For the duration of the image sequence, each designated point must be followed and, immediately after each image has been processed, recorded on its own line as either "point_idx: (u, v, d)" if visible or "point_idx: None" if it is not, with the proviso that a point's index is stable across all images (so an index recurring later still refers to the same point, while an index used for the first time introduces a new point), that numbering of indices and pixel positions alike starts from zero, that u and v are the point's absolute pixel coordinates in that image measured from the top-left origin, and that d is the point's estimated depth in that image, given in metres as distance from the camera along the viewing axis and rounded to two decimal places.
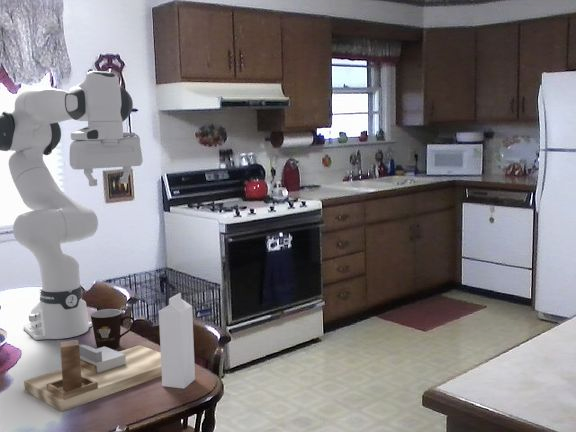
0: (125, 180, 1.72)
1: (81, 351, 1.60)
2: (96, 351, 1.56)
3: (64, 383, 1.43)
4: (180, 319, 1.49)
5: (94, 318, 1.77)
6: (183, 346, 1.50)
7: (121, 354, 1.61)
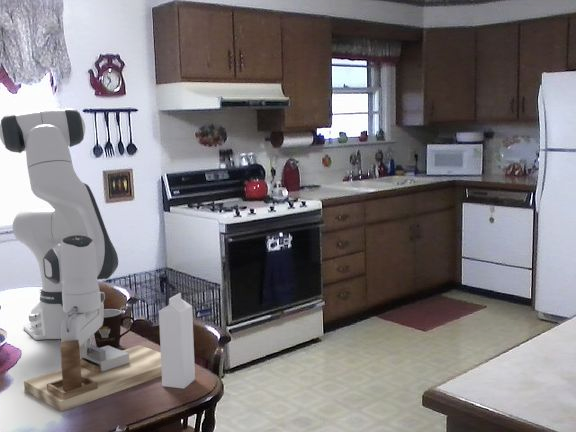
0: None
1: None
2: (100, 349, 1.57)
3: (64, 383, 1.43)
4: (180, 319, 1.49)
5: None
6: (183, 346, 1.50)
7: (125, 353, 1.61)
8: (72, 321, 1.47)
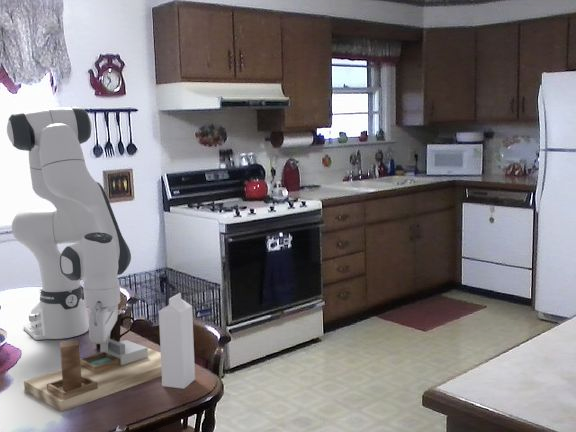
0: None
1: None
2: (119, 344, 1.61)
3: (64, 383, 1.43)
4: (180, 319, 1.49)
5: None
6: (183, 346, 1.50)
7: (143, 347, 1.65)
8: (99, 315, 1.51)
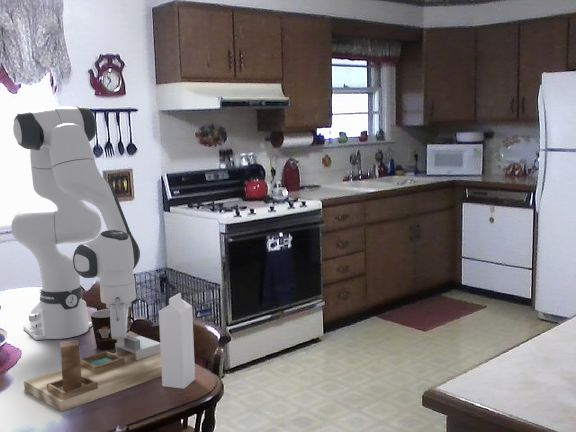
0: (117, 342, 1.64)
1: None
2: (134, 339, 1.65)
3: (64, 383, 1.43)
4: (180, 319, 1.49)
5: (94, 318, 1.77)
6: (183, 346, 1.50)
7: (157, 343, 1.69)
8: (121, 310, 1.55)
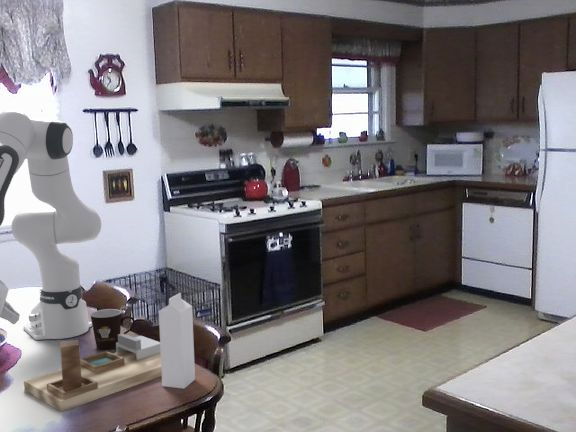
0: None
1: (120, 340, 1.68)
2: (135, 339, 1.65)
3: (64, 383, 1.43)
4: (180, 319, 1.49)
5: (94, 318, 1.77)
6: (183, 346, 1.50)
7: (158, 342, 1.69)
8: None
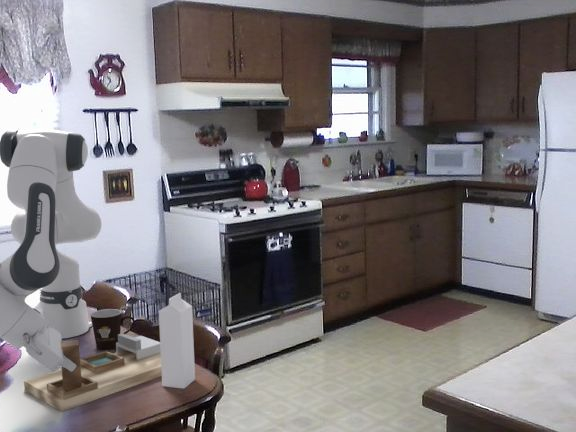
0: None
1: (120, 340, 1.68)
2: (135, 339, 1.65)
3: (64, 383, 1.43)
4: (180, 319, 1.49)
5: (94, 318, 1.77)
6: (183, 346, 1.50)
7: (158, 342, 1.69)
8: (35, 343, 1.33)
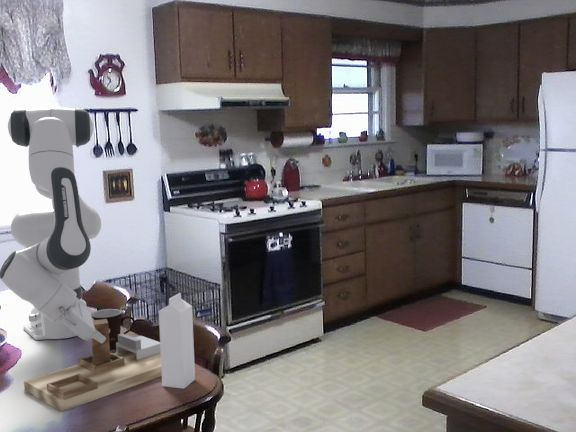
0: None
1: (120, 340, 1.68)
2: (135, 339, 1.65)
3: (94, 357, 1.58)
4: (180, 319, 1.49)
5: (94, 318, 1.77)
6: (183, 346, 1.50)
7: (158, 342, 1.69)
8: (70, 315, 1.48)
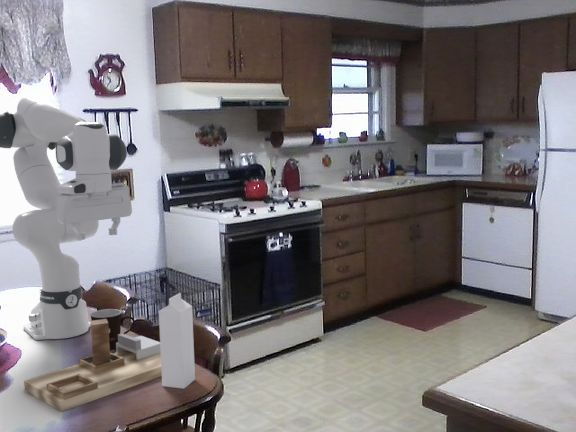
0: (114, 232, 1.68)
1: (120, 340, 1.68)
2: (135, 339, 1.65)
3: (94, 357, 1.58)
4: (180, 319, 1.49)
5: (94, 318, 1.77)
6: (183, 346, 1.50)
7: (158, 342, 1.69)
8: None
